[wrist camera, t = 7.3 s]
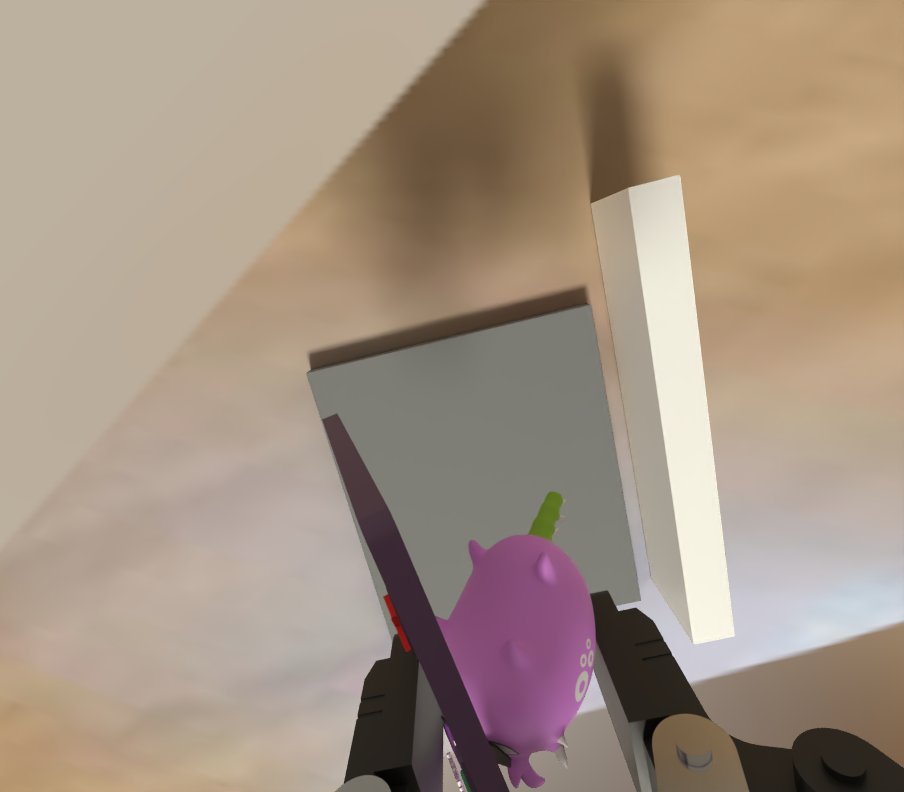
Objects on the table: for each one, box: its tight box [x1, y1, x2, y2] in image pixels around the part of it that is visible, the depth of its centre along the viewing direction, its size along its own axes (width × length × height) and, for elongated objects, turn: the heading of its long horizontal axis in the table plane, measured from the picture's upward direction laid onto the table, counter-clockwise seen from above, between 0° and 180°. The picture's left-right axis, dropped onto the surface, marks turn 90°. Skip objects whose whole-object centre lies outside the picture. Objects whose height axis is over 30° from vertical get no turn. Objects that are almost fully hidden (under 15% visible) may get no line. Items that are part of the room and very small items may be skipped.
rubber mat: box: [306, 304, 641, 642], centre depth 21 cm, size 11×13×1 cm
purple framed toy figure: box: [322, 413, 596, 792], centre depth 10 cm, size 7×5×9 cm
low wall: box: [591, 175, 735, 645], centre depth 18 cm, size 2×16×4 cm, turn 14°
